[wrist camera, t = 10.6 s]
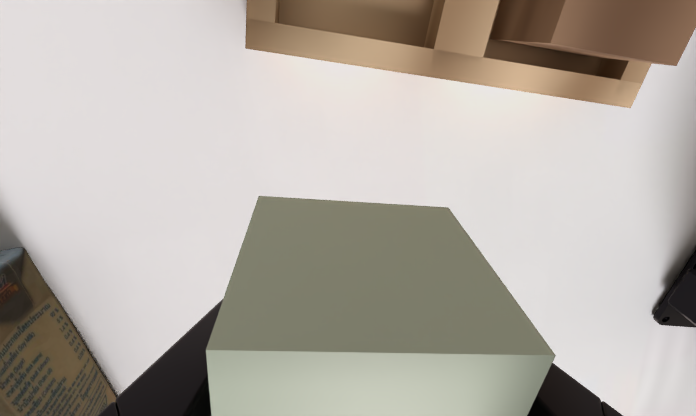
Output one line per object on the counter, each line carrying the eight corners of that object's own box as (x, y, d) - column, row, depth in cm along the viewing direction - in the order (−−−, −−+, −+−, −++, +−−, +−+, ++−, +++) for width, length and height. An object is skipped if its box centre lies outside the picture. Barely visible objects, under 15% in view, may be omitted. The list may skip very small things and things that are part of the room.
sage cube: (447, 207, 9) (555, 355, 5) (414, 344, 11) (472, 531, 7) (259, 195, 8) (205, 350, 4) (259, 341, 10) (222, 542, 6)
